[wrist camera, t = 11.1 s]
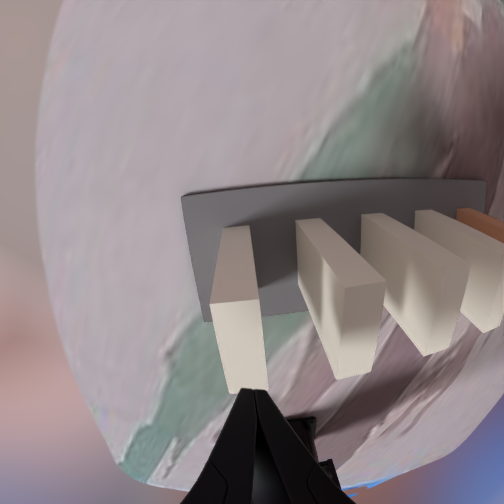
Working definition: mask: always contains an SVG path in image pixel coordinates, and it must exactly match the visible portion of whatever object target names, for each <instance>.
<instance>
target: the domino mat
mask: <svg viewBox="0 0 504 504" xmlns="http://www.w3.org/2000/svg"><path fill="white" fill-rule="evenodd" d="M486 183H487V181H483V180H465V179H421V178H406V179H360V180H337V181H320V182H305V183H292V184H280V185H269V186H258V187H249V188H240V189H231V190H222V191H214V192H207V193H199V194H192V195H185V196H182V197H181V203H182V209H183V215H184V221H185V227H186V233H187V239H188V244H189V250H190V255H191V261H192V266H193V271H194V276H195V281H196V286H197V291H198V296H199V300H200V305H201V310H202V314H203V319H204V322H212V321H213V319H212V314H211V309H210V298H211V292H212V286H213V280H214V275H215V269H216V264H217V258H218V253H219V247H220V242H221V236H222V231H223V228H227V227H236V226H245V225H249V227H250V234H251V242H252V249H253V257H254V264H255V271H256V279H257V286H258V293H259V301H260V311H261V317H263V316H271V315H280V314H288V313H295V312H303V311H309V310H308V307H307V305H306V302H305V300H304V297H303V295H302V293H301V290H300V288H299V285H298V265H297V243H296V224H295V220H304V219H314V218H321V219H322V220H323V221H324V222H325V223H326V224H327V225H329V226H330V227H331V228H332V229H333V230H334V231H335V232H336V233H337V234H338V235H339V236H341V237H342V238H343V239H344V240H345V241H346V242H347V243H348V244H349V245H350V246H351V247H352V248H353V249H354V250H355V251H356V252H357V253H359V254H360V249H361V214H374V213H383V214H385V215H387V216H389V217H391V218H393V219H395V220H397V221H398V222H400V223H402V224H404V225H406V226H408V227H409V228H411V229H413V230H414V224H415V211H417V210H434V211H436V212H438V213H441V214H443V215H445V216H448V217H450V218H452V219H454V220H456V215H457V209H461V208H471V209H473V210H476V211H478V212H481V213H483V214H484V212H485V201H486Z"/></svg>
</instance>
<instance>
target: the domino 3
mask: <svg viewBox="0 0 504 504" xmlns="http://www.w3.org/2000/svg"><path fill="white" fill-rule="evenodd" d="M360 255H361V256H362V257H363V258H364V259H365V260H366V261H367V262H368V263H369V264H370V265H371V266H372V267H373V268H374V269H375V270H376V271H377V272H378V273H379V274H380V275H381V276H382V277H383V278H384V279H385V280H386V290H385V297H384V304H383V305H384V307H385V308H386V309H387V310H388V312H389V313H390V314H391V315H392V316H393V318H394V319H395V320H396V321H397V323H398V324H399V325H400V327H401V328H402V329H403V330H404V332H405V333H406V334H407V336H408V337H409V338H410V339H411V341H412V342H413V343H414V345H415V346H416V347H417V349H418V350H419V351H420V353H421V354H422V355H423V357H424V356H427V355H430V354H433V353H435V352H438V351H441V350H444V349H447V348H448V347H449V344H450V341H451V338H452V335H453V332H454V329H455V326H456V323H457V319H458V316H459V312H460V309H461V305H462V302H463V298H464V294H465V290H466V286H467V281H468V277H469V272H470V267H471V264H469V263H468V262H466V261H465V260H463V259H461V258H460V257H458V256H457V255H455V254H454V253H452V252H450V251H449V250H447V249H445V248H444V247H442V246H441V245H439V244H437V243H436V242H434V241H432V240H430V239H429V238H427V237H425V236H424V235H422V234H420V233H418V232H417V231H415V230H413V229H411V228H409V227H408V226H406V225H404V224H402V223H400V222H398V221H397V220H395V219H393V218H391V217H389V216H387V215H385V214H383V213H374V214H361V249H360Z"/></svg>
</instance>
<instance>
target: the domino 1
mask: <svg viewBox="0 0 504 504" xmlns="http://www.w3.org/2000/svg"><path fill="white" fill-rule="evenodd" d="M210 309H211V314H212V319H213V324H214V329H215V333H216V338H217V342H218V347H219V352H220V356H221V360H222V365H223V369H224V373H225V377H226V382H227V386H228V390H229V394H235V393H239V391H240V389H241V388H251V389H264V390H266V391H268V380H267V370H266V360H265V350H264V341H263V331H262V321H261V311H260V301H259V293H258V286H257V279H256V271H255V264H254V257H253V249H252V242H251V234H250V227H249V225H245V226H236V227H227V228H223V231H222V236H221V242H220V247H219V253H218V258H217V264H216V269H215V275H214V280H213V286H212V292H211V298H210Z"/></svg>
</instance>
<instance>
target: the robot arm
mask: <svg viewBox="0 0 504 504" xmlns="http://www.w3.org/2000/svg"><path fill="white" fill-rule="evenodd" d="M315 429H316V418H315V417H309V418H303V419H297V420H290V421H287V420H286V419H285V417H284V416H283V415H282V413H281V412H280V410H279V409H278V407H277V406H276V404H275V403H274V401H273V400H272V399H271V397H270V396H269V394H268V393H267V391H266V390H264V389H251V388H241V389H240V391H239V393H238V395H237V398H236V400H235V402H234V404H233V407H232V409H231V411H230V413H229V415H228V418H227V420H226V422H225V424H224V426H223V429H222V431H221V433H220V435H219V437H218V439H217V441H216V444H215V446H214V448H213V450H212V452H211V454H210V456H209V458H208V461H207V462H206V464H205V466H204V468H203V470H202V472H201V474H200V476H199V477H198V479H197V481H196V482H195V484H194V485H193V487H192V488H191V490H190V491H189V493H188V494H187V495H186V497H185V498H184V499H183V500H182V502H181V503H180V504H356V503H355V502H354V501H353V500H351V499H350V498H349V497H348V496H347V495H346V494H345V493H344V492H343V491H342V490H341V486H340V483H339V480H338V477H337V473H336V470H335V467H334V464H333V461H332V459H328V460H327V461H323V462H319V460H318V456H317V451H316V447H315V443H314V437H315Z"/></svg>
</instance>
